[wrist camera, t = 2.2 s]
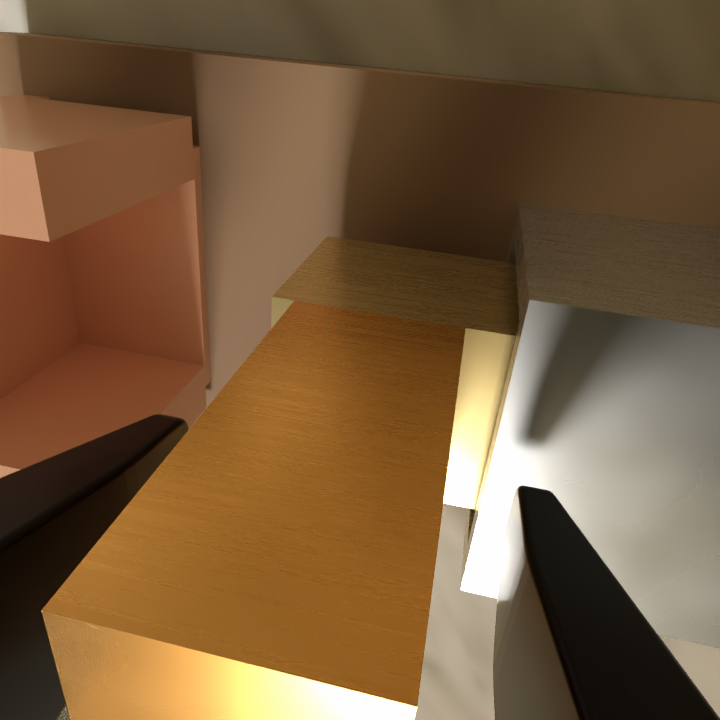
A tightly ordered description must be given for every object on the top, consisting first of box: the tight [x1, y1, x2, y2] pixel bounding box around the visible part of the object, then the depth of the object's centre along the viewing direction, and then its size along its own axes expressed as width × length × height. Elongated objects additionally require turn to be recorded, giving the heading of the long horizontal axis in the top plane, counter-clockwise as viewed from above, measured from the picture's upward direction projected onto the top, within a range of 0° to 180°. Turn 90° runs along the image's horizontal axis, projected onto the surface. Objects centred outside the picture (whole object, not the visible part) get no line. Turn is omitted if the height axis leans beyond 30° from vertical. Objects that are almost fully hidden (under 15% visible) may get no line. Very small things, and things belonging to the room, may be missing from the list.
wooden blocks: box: [41, 236, 519, 720], centre depth 8 cm, size 12×3×9 cm, turn 86°
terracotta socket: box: [0, 94, 211, 478], centre depth 12 cm, size 4×7×5 cm, turn 176°
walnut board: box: [0, 32, 720, 429], centre depth 13 cm, size 20×9×1 cm, turn 86°
